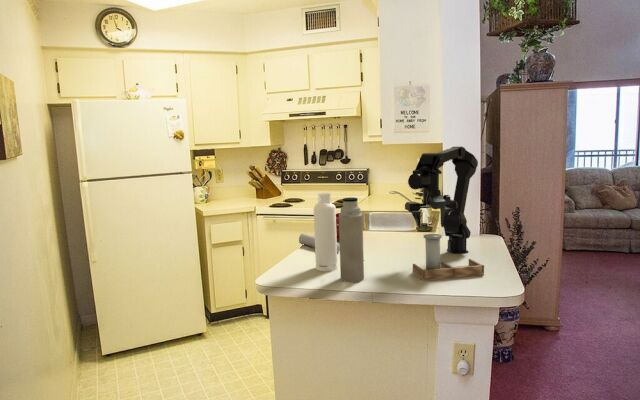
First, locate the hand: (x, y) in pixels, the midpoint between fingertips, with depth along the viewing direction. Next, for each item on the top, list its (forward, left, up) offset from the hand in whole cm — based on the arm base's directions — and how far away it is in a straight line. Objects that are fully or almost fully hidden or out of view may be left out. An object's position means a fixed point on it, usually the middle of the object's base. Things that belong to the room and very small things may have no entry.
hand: (430, 227), depth 167 cm
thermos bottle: (+34, +12, -13) cm, 38 cm away
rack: (+1, +16, -13) cm, 21 cm away
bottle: (+40, -3, -13) cm, 42 cm away
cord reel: (+6, +16, -12) cm, 21 cm away
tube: (+37, -33, -13) cm, 51 cm away
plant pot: (+23, -46, -13) cm, 53 cm away
